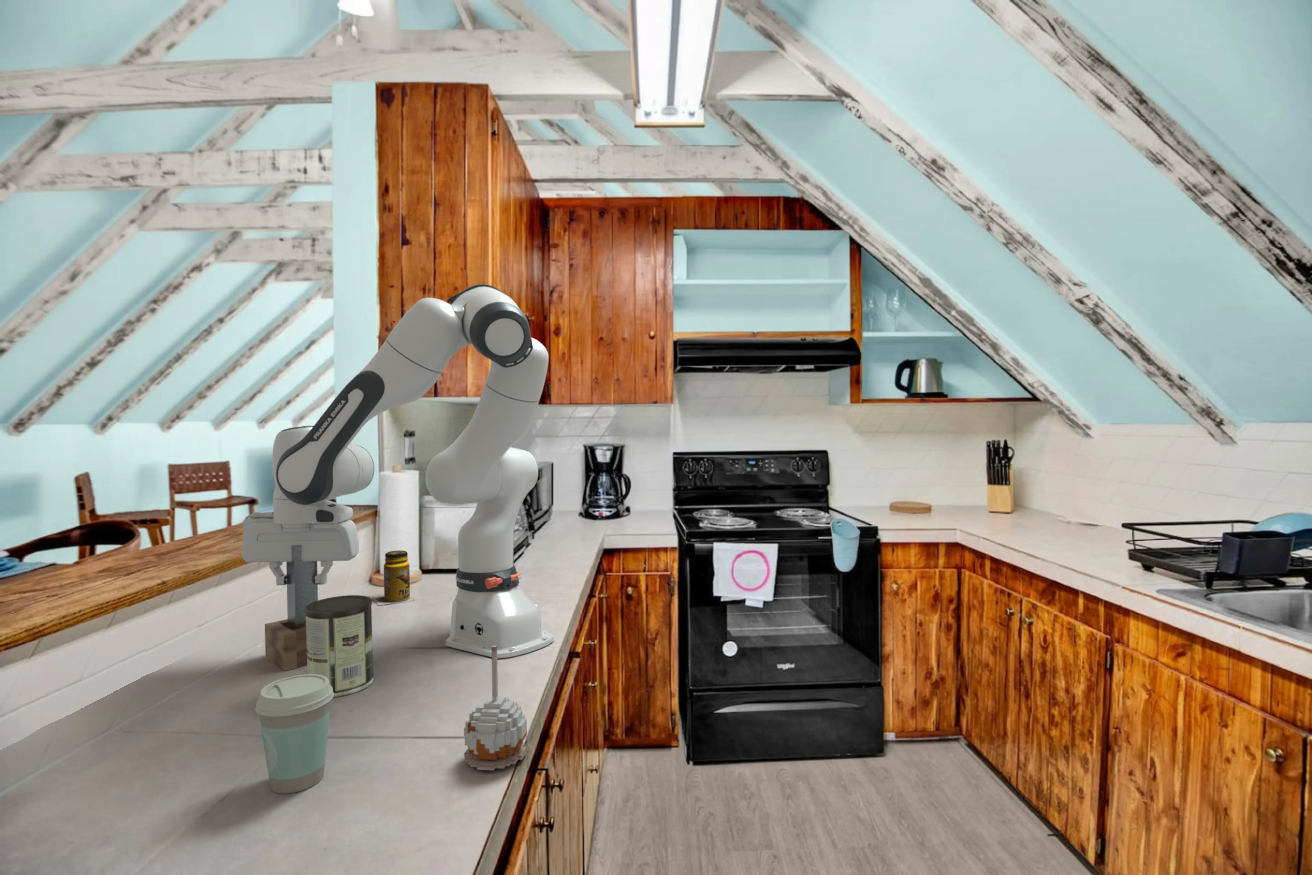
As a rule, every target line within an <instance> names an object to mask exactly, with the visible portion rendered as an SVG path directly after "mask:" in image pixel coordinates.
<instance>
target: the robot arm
mask: <svg viewBox="0 0 1312 875" xmlns="http://www.w3.org/2000/svg"><path fill="white" fill-rule="evenodd" d="M531 334H532V333H531V329H530V324H529V321H528V319H527V316H526V315H525V313H524V312H523V311H522V309H520V307H519V306H518V304H517V303H516V302H515V301H514V300H513V299H512V298H511V297H510V296H508V295H507V294H505V293H504V292H503V291H502V290H501V289H499V288H498V287H496V286H493V285H490V284H486V283H480V284H479V283H477V284H473V285H471V286H469V287H466V288H464V289H463V290H462V291H461V292H459V293H457V294H455V295H453V296H451V297H449V298H448V299H447V300H446V301H445V300H442V299H439V298H435V297H423V298H421V299H418V301H416V302H415V303H414V304H413V305H412V306H411V307H410V308H409V309H408V310H407V311H406V313H405V314H403V316H402V317H401V318H400V319H399V321H398V322H397V323H396V324H395V326H394V327H393V329H391V331H390V333H389V334H388V336H387V337H386V339H385V340H384V342H383V343H382V345H381V347H380V348H379V349H378V351H377V352H376V353H375V355H374V356H373V357H372V358H371V359H370V360H369V362H367V364H366V366H365V367H363V369H362V370H360V371H359V372H358V373H357V374H356V375H355V376H354V377H353V378H351V380H350V381H349V382H348V383H347V384H346V385H345V386H344V387H343V388H342V389H341V391H340V392H339V393H338V394H337V396H336V397H335V398H334V399H333V400H332V402H331V403H330V404H329V406H328V407H327V408H326V409H325V411H324V412H323V413H322V414H321V416H320V417H319V418H318V419H317V421H316V422H315V424H313V425H302V426H293V427H289V428H285V429H282V430H280V431H279V432H277V434H276V436H275V438H274V442H273V445H272V446H273V448H272V458H271V459H272V460H271V464H272V468H271V469H272V470H271V471H272V472H271V473H272V478H273V480H274V491H273V494H272V502H273V503H272V508H273V509H272V510H273V511H268V512H267V511H266V512H255V511H254V512H252V513H251V514H249V515H247V516H245V517H244V519H243V522H242V530H243V539H242V547H241V548H242V549H241V558H242V559H243V560H244V562H246V563H269V564H268V565H269V566H268V567H269V570H270V571H271V572H272V574H273V576H274V577H275V583H276V586H287V573H284V571H283V569H282V567H281V566H284V565H283V563H286V562H291V560H292V554H291V546H293V545H302V560H303V561H317V562H320V567H321V568H322V567H323V568H322V570H321V572H320V573H317V575H316V576H315V580H316V581H315V584H316V585H318V586H319V585H322V586H323V585H325V584H327V582H328V573H329V572H330V570H331V569H332V567H333V565H334V562H347V561H350V560H353V559H354V558H356V557H357V555H358V554H359V552H360V546H359V544H360V543H359V535H358V529H357V526H356V524H355V522H354V521H353V520H351V519H352V517H353V516H354V510H353V508H352V507H350V506H347V505H344V504H342V503H341V504H340V503H338V502H333V501H331V500H328V499H335V498H338V497H342V496H346V495H351V494H352V495H353V494H356V493H358V492H360V491H363V490H364V489H366V488H367V487H369V485H370V484H371V483H372V481H373V479H374V474H375V463H374V460H373V458H372V456H371V454H370V452H369V451H368V450H367V449H366V448H364V447H363V446H361V445H357V444H353V443H352V442H353V440H354V439H355V437H356V436H357V435H358V433H360V431H361V430H362V429H363V427H364V426H365V425H366V424H367V423H368V422H369V421H370V420H372V419H373V418H375V417H376V416H378V415H380V414H382V413H384V412H386V411H388V410H389V411H390V410H391V409H394V408H397V407H399V406H402V405H407V404H410V403H413V402H416V401H418V400H420V399H421V398H422V397H423V396H425V394H426V393H427V392H429V390H430V389H432V387H434V385H435V384H436V382H437V381H438V380H439V378H440V377H441V375H442V373H443V371H444V370H445V369H446V367H447V366H448V363H449V362H450V361H451V358H453V357H454V356H455V355H456V354H457V353H458V352H459V351H460V350H462V349H464V348H466V347H468V346H470V345H472V346H473V347H474V349H475V350H476V351H477V352H478V353H479V354H480V355H482V356H483V357H485V358H486V359H488V360H490V369H489V371H488V373H487V377H486V380H485V382H484V385H483V389H482V392H481V395H480V396H479V401H478V402H477V405H476V409H475V411H474V413H473V415H472V418H471V420H469V422H468V424H467V425H466V427H465V428H464V429H463V431H462V432H461V434H460V435H459V436H458V437H457V438H456V439H455V440H454V441H453V442H452V444H449V446H448V447H447V448H446V449H444V450H443V451H441V452H439V453H438V454H436V455H435V456H433V457H432V458H431V459H430V461H429V462H428V465H427V466H426V469H425V475H424V476H425V477H424V480H425V485H426V489H427V490H428V493H429V494H430V496H431V497H432V498H433V499H434V500H436V501H437V502H439V503H445V504H454V505H465V504H466V505H467V504H474V503H476V506H475V510H474V512H473V514H472V515H471V517H470V518H469V519H468V521H466V522H465V523H464V524H463V525H462V526H461V528H460V529H459V530H458V535H457V543H458V544H457V549H458V555H457V556H458V557H457V558H458V568H457V569H456V575H455V580H456V583H455V584H456V587H457V589H458V590H457V594H456V595H455V598H454V600H453V601H452V607H451V617H450V618H451V619H450V634H449V636H448V637H447V638H446V639H445V647H449V648H452V649H453V648H454V649H457V650H461V651H465V652H469V653H473V654H478V655H481V656H486V657H490V658H492V646H497V659H504V658H505V659H506V658H512V657H516V656H520V655H524V654H528V653H532V652H535V651H537V650H540V649H542V648H544V647H546V646H548V645H550V644H551V643H553V642H554V641H555V637H554V635H553V634H552V633H550V632H548V631H546V630H545V629H543V627H542V620H541V618H542V617H541V614H540V611H539V606H538V604H537V603H533V601H532V600H531V599H530V598H529V596H528V595H527V594H526V593H525V591H524V590H523V589H522V588H521V587H520V585H519V584H520V579H521V580H522V577H519V576H521V575H522V573H518V571H517V568H516V564H514V533H515V526H516V525H515V524H516V522H517V518H518V514H519V513H520V509H521V506H522V503H523V502H524V500H525V498H526V496H527V495H528V494H529V492H531V490H532V489H533V488H534V487H535V485H536V484H537V481H538V477H539V466H538V463H537V460H536V458H535V457H534V456H533V455H532V453H531V452H529V451H528V450H524V449H521V448H517V447H516V448H515V447H513V445H515V444H516V443H518V442H519V441H521V440H522V439H524V437H525V436H526V435H527V434H528V432H529V431H530V428H531V425H532V422H533V420H534V416H535V413H536V411H537V408H538V405H539V403H540V399H541V396H542V393H543V390H544V386H545V382H546V377H547V372H548V368H549V367H548V365H549V351H547V348H546V347H545V346H544V344H543V343H541V342H540V341H539V340H537V339H535V338H533V337H532V335H531Z"/></svg>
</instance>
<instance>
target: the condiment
mask: <svg viewBox="0 0 1312 875" xmlns="http://www.w3.org/2000/svg"><path fill="white" fill-rule="evenodd" d="M384 556H385V557H384V562H385V563H384V564H383V592H384V593H383V596H378V597H372V601H373V602H374V603H375V604H376V605H377V606H384V605H390V604H400V603H406V602H413V601H415V599H414V598H413V597H412V596H411V586H410V585H411V582H410V579H411V577H410V562H409V561H408V560H409V558H408V552H407V551H406V550H391V551H387V552H386V553H385V555H384Z"/></svg>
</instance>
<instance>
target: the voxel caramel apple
mask: <svg viewBox="0 0 1312 875" xmlns="http://www.w3.org/2000/svg"><path fill="white" fill-rule="evenodd" d="M498 683H499V682H498V658H497V646H492V657H491V690H492V691H491V693H492V694H491V695H492V696H489V697H488V698H487V699H486V700H485V699H484V700H480V702H479V703H478V704H477V705H476V706H475V707H474V708H473V710H471V712H470V713H469V716H468V717H469V718H468V717H467V720H466V721H465V725H464V727H463V737H464V745H465V746H466V747H467V749H466V750H465V751H464V752H463V753H464V754H463V757H464V762H465V763H467V765H468V766H469V767H470V768H476V770H480V771H495V769H505V768H506V767H510V766H511V765H516V764H517V762H518V761H519V760H520V761H523V760H524V758H525V755H526V754H527V752H528V747H527V746H526V742H524V740H525V739H526V737H527V734H528V730H527V729H528V726H527V723H528V721H527V718H526V714H523V709H522V706H521V705H519V704H518V702H517V701H513V700H512V701H511V699H510V698H509V697H506V696H499V687H498V685H499V684H498Z"/></svg>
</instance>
